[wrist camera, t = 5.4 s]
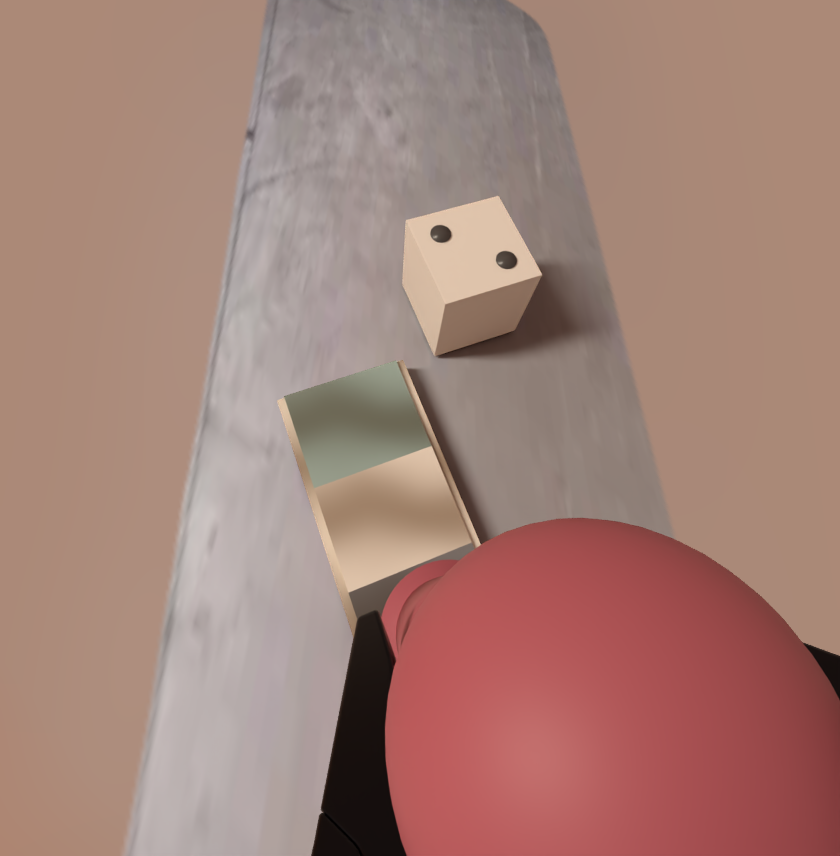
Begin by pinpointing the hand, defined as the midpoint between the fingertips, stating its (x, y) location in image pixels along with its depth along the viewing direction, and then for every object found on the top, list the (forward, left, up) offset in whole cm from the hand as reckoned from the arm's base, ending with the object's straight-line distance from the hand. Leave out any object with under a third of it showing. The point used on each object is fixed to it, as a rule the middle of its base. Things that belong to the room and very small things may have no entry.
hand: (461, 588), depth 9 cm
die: (+14, -8, -13) cm, 20 cm away
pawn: (-1, 0, -7) cm, 7 cm away
